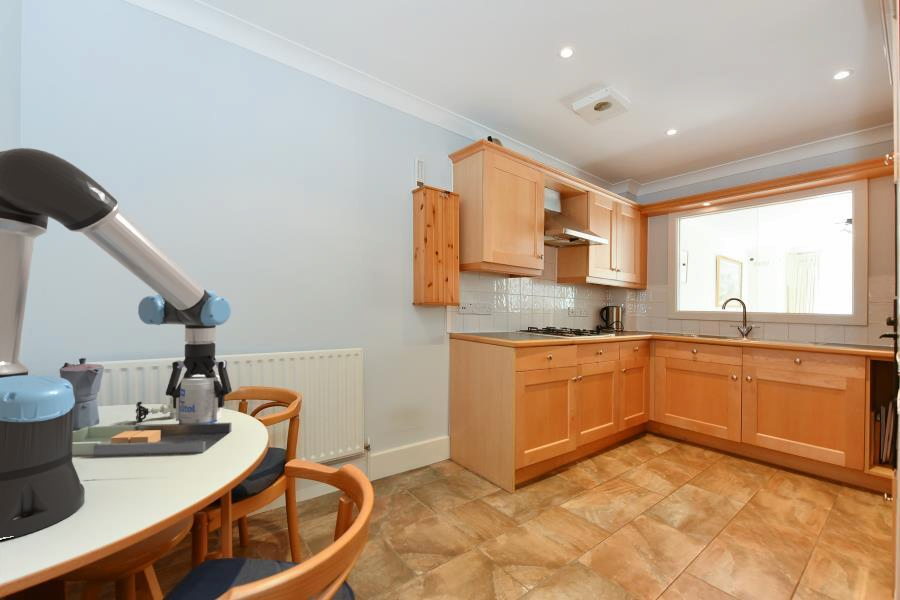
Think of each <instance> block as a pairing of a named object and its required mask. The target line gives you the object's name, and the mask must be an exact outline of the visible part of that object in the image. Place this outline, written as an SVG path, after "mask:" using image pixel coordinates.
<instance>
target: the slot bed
mask: <svg viewBox="0 0 900 600" xmlns="http://www.w3.org/2000/svg"><path fill="white" fill-rule="evenodd" d="M232 424H233V423H232V422H217V423H191V424H179V423H162V424H161V423H156V424H155V423H151V424H149V423H148V424H138V425H136V431H147V430H161V436H160V440H159V441H157V442H144V443H107V444H96V445H94V455H92V457H93V458H99V457H101V458H105V457H109V458H110V457H132V456H135V457H136V456H137V457H138V456H165V455H167V456H168V455H169V456H171V455H172V456H173V455H197V454H198V455H200V454H204V453H205V452H206V451H208V450H209V449H210V448H212V447H214V445H215V444H217V443H218V442H220V441H221V440H223V439H224V438H225V437H226V436H227V435H229V434H230V433H231V432H232Z"/></svg>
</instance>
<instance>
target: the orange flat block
mask: <svg viewBox="0 0 900 600" xmlns="http://www.w3.org/2000/svg"><path fill="white" fill-rule="evenodd" d="M160 436H161V430H147V431H142V432H140V433H138V434H136V435H134V436H132V437H131V443H144V442H157V441H159V440H160Z"/></svg>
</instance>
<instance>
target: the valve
mask: <svg viewBox="0 0 900 600" xmlns="http://www.w3.org/2000/svg"><path fill="white" fill-rule="evenodd" d="M169 403H170V404H168V403H164V404H162V405H161V406H159V407H158V406H154V407H152V408H151V409H149V408H148V407H147V408H146V406H143V405H142V404H143V403H142V401H137V402H136V404H135V407H136V409H135V413H136V416H135V420H136V423H137V424H139V423H140V424H141V423H143V420H145V419H146V418H147V416H148V415H149V414H151V413H152V415H154V414H159V413H162V414H163V415H165V414H168V413H169V419H172V418H174V419H175V418H176V408H173V397H172V396H170V398H169ZM175 420H176V419H175Z"/></svg>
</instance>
